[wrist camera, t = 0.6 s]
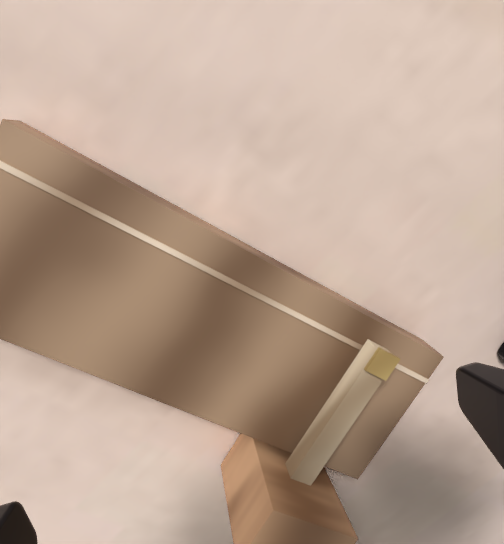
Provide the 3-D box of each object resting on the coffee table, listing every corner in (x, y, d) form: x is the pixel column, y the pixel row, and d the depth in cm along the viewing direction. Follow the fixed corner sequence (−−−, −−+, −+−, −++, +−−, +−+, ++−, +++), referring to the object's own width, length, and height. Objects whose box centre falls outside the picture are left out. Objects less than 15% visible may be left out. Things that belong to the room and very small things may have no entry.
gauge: (389, 338, 24) (457, 401, 18) (288, 489, 26) (322, 588, 20) (323, 303, 23) (374, 359, 17) (220, 465, 25) (236, 564, 19)
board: (422, 339, 24) (444, 357, 22) (343, 454, 26) (358, 480, 24) (19, 120, 18) (1, 119, 16) (-58, 289, 19) (-84, 307, 17)
